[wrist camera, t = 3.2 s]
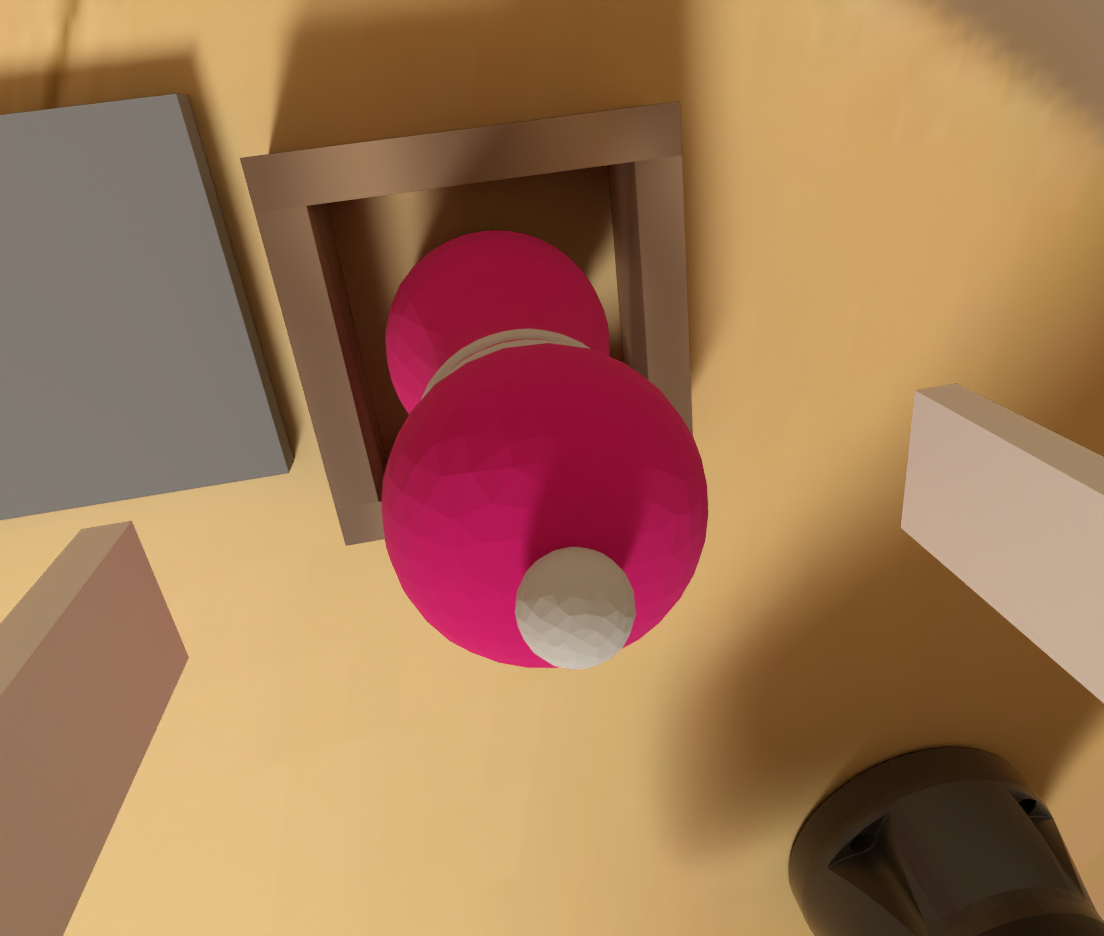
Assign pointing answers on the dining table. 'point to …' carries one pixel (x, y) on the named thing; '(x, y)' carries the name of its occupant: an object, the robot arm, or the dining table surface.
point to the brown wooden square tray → (449, 160)
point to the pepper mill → (531, 462)
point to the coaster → (122, 314)
